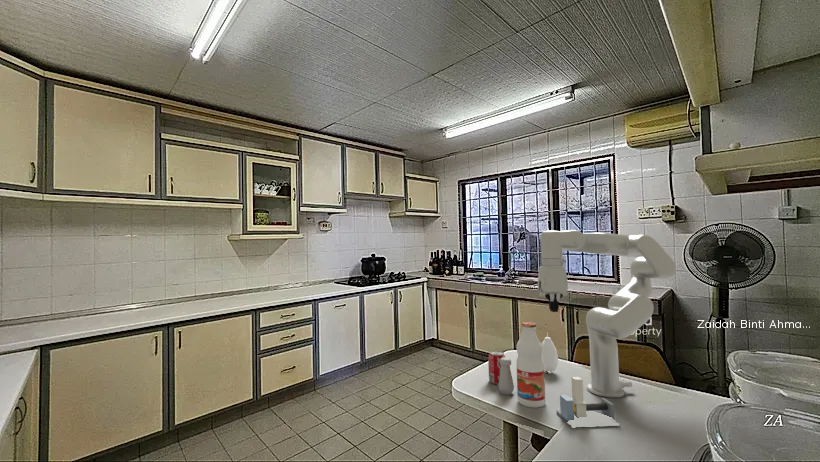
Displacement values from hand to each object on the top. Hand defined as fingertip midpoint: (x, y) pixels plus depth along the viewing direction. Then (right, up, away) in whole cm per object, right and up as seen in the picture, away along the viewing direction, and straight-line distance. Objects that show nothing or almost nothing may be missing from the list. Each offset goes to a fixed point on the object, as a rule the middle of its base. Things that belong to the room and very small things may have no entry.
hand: (554, 311), depth 133 cm
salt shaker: (-18, -32, +1) cm, 36 cm away
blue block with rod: (+2, -30, -21) cm, 36 cm away
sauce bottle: (+7, -33, +22) cm, 40 cm away
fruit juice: (-11, -31, -8) cm, 34 cm away
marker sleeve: (-1, -28, -21) cm, 35 cm away
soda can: (-18, -32, +12) cm, 39 cm away
